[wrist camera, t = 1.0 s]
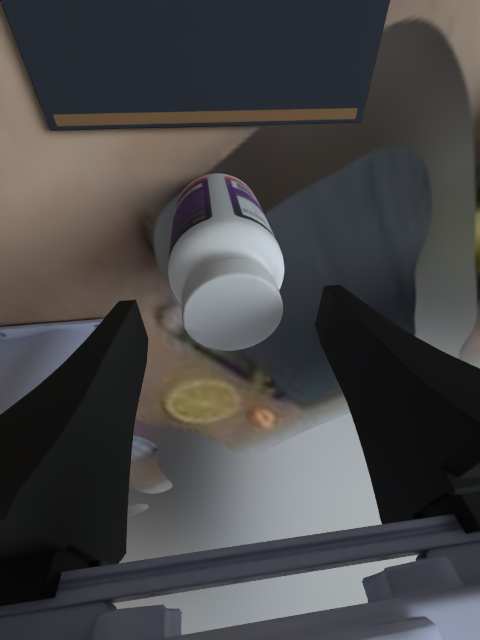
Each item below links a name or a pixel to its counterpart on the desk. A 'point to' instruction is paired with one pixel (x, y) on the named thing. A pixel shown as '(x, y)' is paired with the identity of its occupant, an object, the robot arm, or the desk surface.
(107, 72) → the felt pad
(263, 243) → the pill bottle
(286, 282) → the desk surface
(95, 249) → the desk surface
